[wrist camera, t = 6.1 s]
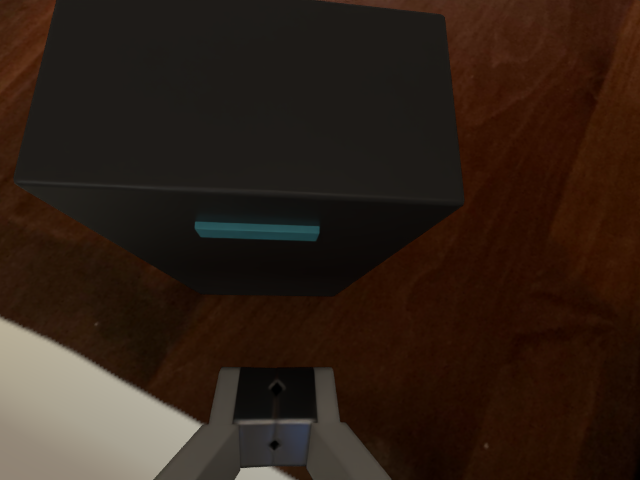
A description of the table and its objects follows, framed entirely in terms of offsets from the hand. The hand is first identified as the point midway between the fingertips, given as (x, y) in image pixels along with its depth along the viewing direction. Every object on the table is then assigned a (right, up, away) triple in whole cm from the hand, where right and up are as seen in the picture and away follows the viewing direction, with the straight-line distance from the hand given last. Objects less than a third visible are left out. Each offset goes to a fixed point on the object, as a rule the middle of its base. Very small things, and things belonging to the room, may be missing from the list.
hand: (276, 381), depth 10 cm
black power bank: (-2, +3, +10) cm, 10 cm away
